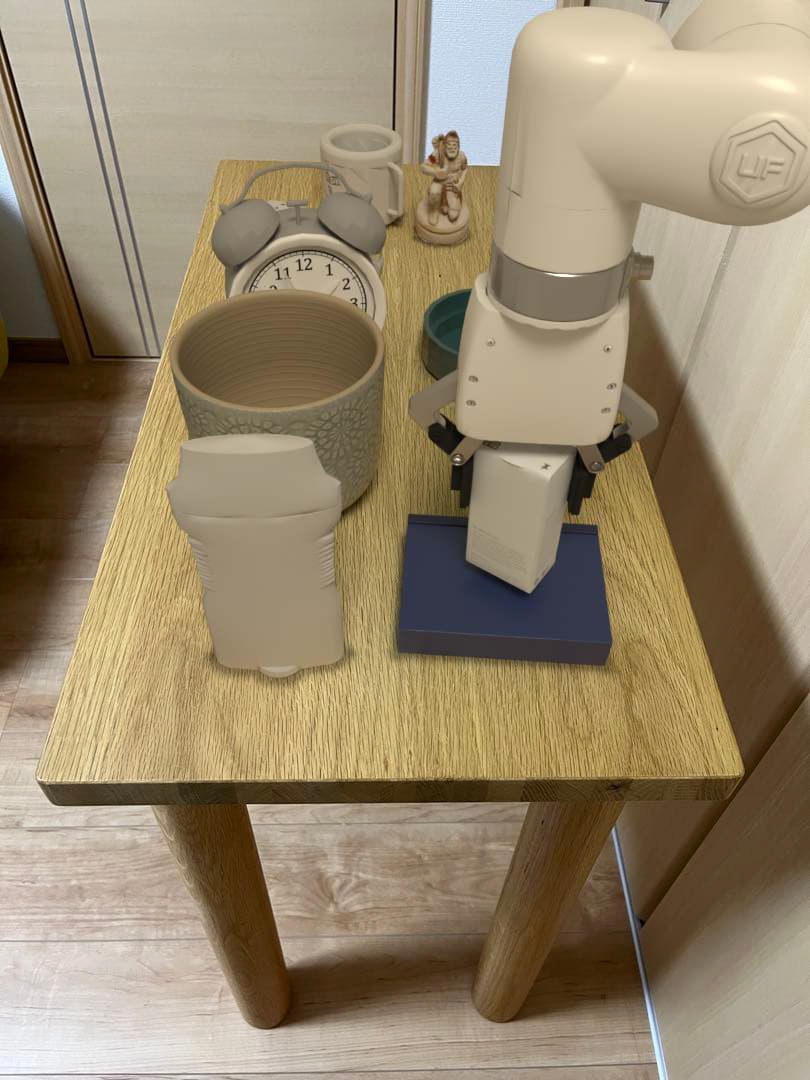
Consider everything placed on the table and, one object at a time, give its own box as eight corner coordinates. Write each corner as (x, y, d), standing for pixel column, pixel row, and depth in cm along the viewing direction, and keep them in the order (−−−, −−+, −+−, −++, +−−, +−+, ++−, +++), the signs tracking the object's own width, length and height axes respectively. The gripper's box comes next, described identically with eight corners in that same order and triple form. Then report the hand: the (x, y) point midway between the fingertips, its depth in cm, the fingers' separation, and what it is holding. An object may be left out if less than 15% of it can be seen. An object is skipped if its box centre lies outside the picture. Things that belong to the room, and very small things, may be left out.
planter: (174, 461, 78) (139, 320, 67) (332, 407, 84) (325, 270, 73) (244, 580, 68) (217, 438, 57) (418, 509, 74) (424, 368, 63)
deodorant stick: (349, 631, 65) (338, 411, 49) (349, 675, 62) (338, 457, 46) (213, 636, 64) (157, 415, 48) (208, 680, 62) (146, 462, 45)
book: (590, 549, 71) (597, 524, 69) (604, 666, 63) (613, 641, 61) (407, 538, 72) (408, 513, 70) (397, 652, 64) (398, 628, 61)
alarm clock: (235, 403, 84) (201, 191, 68) (230, 354, 90) (197, 149, 74) (392, 385, 87) (395, 177, 71) (377, 339, 93) (376, 137, 76)
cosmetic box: (556, 563, 64) (584, 445, 55) (528, 599, 62) (553, 481, 53) (488, 529, 67) (506, 410, 58) (459, 562, 64) (472, 443, 55)
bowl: (547, 325, 95) (553, 290, 92) (554, 401, 86) (561, 365, 82) (425, 319, 96) (426, 284, 92) (418, 393, 86) (420, 357, 83)
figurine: (432, 262, 108) (443, 167, 95) (403, 225, 111) (410, 128, 97) (478, 242, 110) (495, 147, 97) (448, 207, 113) (461, 109, 99)
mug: (307, 210, 114) (302, 135, 106) (366, 188, 119) (365, 115, 111) (371, 247, 107) (371, 169, 100) (431, 222, 112) (434, 146, 105)
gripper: (700, 246, 48) (632, 470, 61) (405, 232, 49) (400, 456, 62) (726, 316, 43) (646, 543, 56) (396, 299, 44) (393, 528, 57)
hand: (518, 496), depth 59 cm, fingers closed on cosmetic box, 7 cm apart
